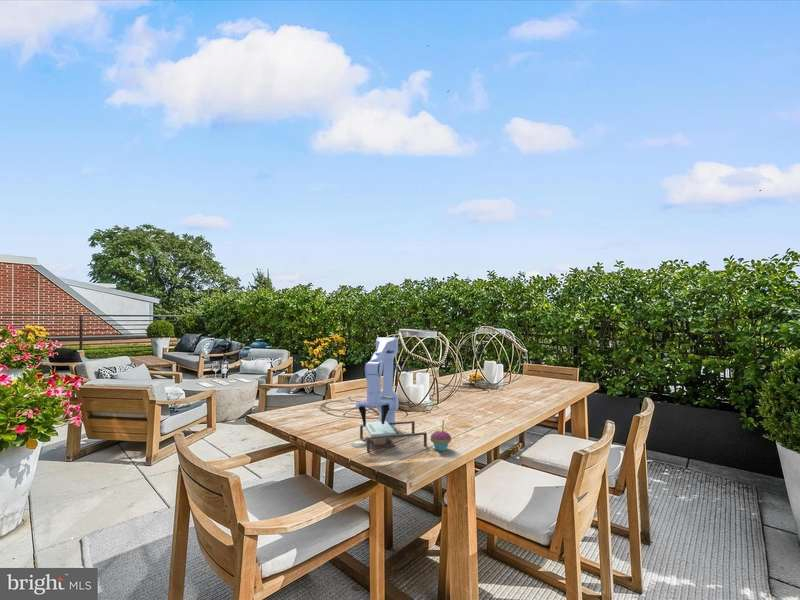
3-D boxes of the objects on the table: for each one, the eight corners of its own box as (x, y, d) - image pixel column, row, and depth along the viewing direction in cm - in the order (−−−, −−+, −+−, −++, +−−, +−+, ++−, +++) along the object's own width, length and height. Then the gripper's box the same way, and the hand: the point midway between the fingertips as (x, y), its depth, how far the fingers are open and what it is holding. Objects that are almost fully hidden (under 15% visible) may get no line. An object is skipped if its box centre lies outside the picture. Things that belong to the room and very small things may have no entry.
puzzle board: (347, 440, 169) (348, 426, 170) (413, 435, 177) (413, 421, 177) (353, 455, 152) (354, 439, 152) (426, 448, 160) (426, 433, 160)
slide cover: (364, 424, 171) (364, 422, 171) (386, 423, 173) (386, 420, 173) (371, 437, 154) (371, 434, 154) (395, 434, 157) (395, 432, 157)
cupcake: (438, 444, 165) (438, 415, 166) (455, 448, 160) (455, 419, 160) (426, 449, 159) (426, 420, 159) (444, 454, 153) (444, 423, 154)
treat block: (373, 441, 165) (373, 429, 166) (383, 440, 167) (383, 428, 167) (375, 444, 161) (375, 432, 161) (385, 443, 162) (385, 431, 162)
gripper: (358, 394, 154) (357, 428, 154) (393, 392, 158) (393, 425, 158) (355, 390, 161) (354, 423, 161) (389, 388, 165) (389, 420, 165)
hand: (373, 424), depth 160 cm, fingers open, 7 cm apart
